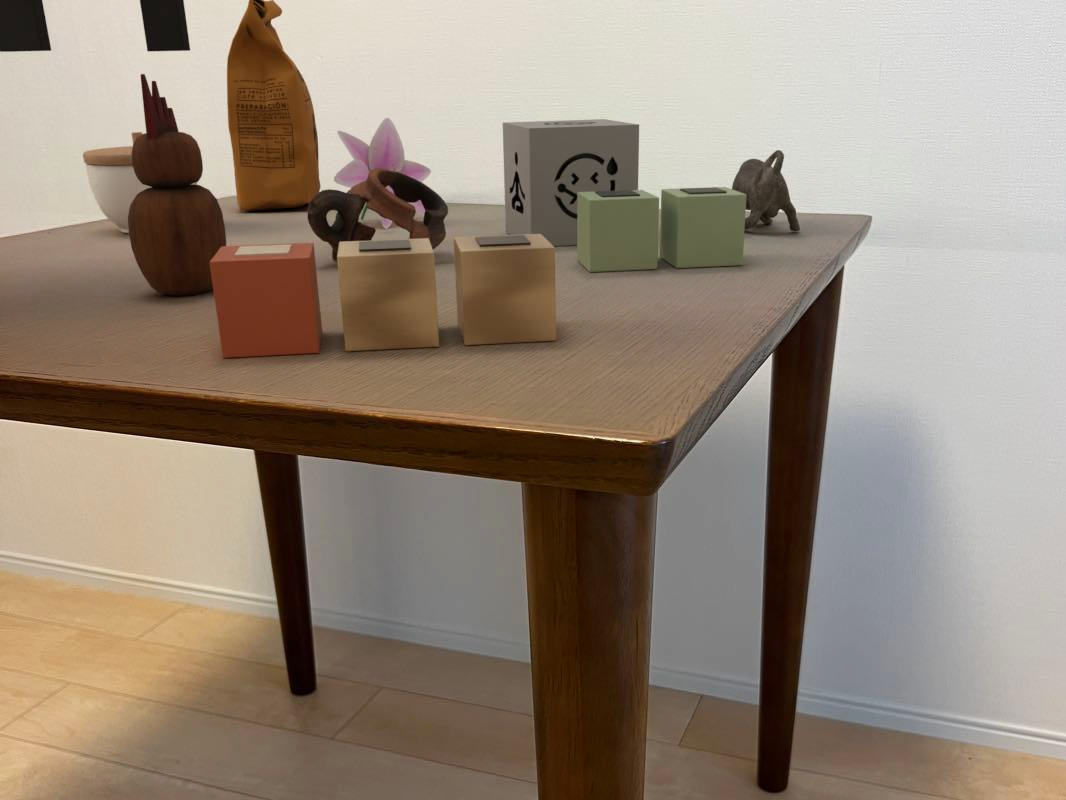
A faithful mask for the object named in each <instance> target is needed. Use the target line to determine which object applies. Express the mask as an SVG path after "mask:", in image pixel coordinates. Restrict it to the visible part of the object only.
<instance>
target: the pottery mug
mask: <svg viewBox="0 0 1066 800" xmlns="http://www.w3.org/2000/svg"><path fill="white" fill-rule="evenodd" d="M387 186H390V187H391V188H392V190H393V192H394V194H393V193H391V192H390V191H389V190H388V189H386V188H385V187H387ZM419 200H421V202H422V204H423V206H424V209H425V214H424V216H423V221H422V222H423V223H422V222H420V221H417V220H415V219H414V217H415V216H416V214H417V213H416V210H415V207H414V206H413V205H411V204H409V203H415V202H417V201H419ZM366 202H369V203H368V204H367V206H366V207H367V210H371V211H372V212H375V213H377V215H378V216H379V215H380V216H381V217H383V218H386V219H389V220H391V221H393V222H392V223H393V224H395V225H396V226H397V227H399V228H401V229H403V230H405V231H407V232H408V233H409V238H408V239H421V238H428V239H429V241H430V243H431V246H432V249H433V250H435V248H438V246H439V245H440V244H442V243H443V241H444V240H445V238H446V236H447V231H446V230H447V229H446V225H445V218H447V216H448V215H449V207H448V205H447V204H446V201H445V200H444V199H443V198H442V197H441V195H440V194H438V193H437V192H436V191H434V189H433V188H431V187H429V186H428V185H426V184H425V183H423V181H422V182H420V181H418V180H416V179H414V178H412V177H409V176H407V175H405V174H402V173H399V172H396V171H391V170H388V169H381V168H377V169H372V170H371V171H370V172H369V174H368V178H367V180H366V181H363V182H361V183H359V184H357V185H355V186H353V187H352V188H349V190H347V192H345V191H342V190H338V189H331V188H328V189H322V190H321V191H319V193H318V194H316V195H315V196H314V197H313V198H312V200H311V202H310V203H308V207H307V209H306V211H307V221H308V224H309V227H310V228H311V230H312V232H313V233H314V234H315V236H316V237H317V238H318V239H320V240H321V241H322V242H325V243H328V245H329V246H330V247H331V248H332V249H331V250H332V251H331V259H332V260H333V261H337V254H338V246H339V242H345V241H371V240H373V237H374V236H375V233H376V232H377V229H376V227H373V226H368V225H367V224H363V223H362V222H360V221H359V220H360V215H362V212H363V210H364V207H365V205H366ZM331 211H336V215H335V219H334V221H333V224H332V225H330V224H329V221H328V217H327V216H328V213H329V212H331Z"/></svg>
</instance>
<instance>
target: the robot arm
mask: <svg viewBox="0 0 1066 800" xmlns="http://www.w3.org/2000/svg"><path fill="white" fill-rule="evenodd" d="M139 3H140V5H139V6H140V10H141V18H142V25H143V31H144V38H145V44H146V51H147V52H185V51H187V52H190V51H191V46H190V45H191V44H190V38H189V30H188V23H187V22H188V21H187V15H186V10H185V1H184V0H139ZM49 35H50V34H49V30H48V25H47V19H46V14H45V8H44V3H43V0H0V53H3V52H4V53H12V52H14V53H15V52H50V51H52V46H51V41H50V36H49Z"/></svg>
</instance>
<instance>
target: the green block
mask: <svg viewBox="0 0 1066 800" xmlns="http://www.w3.org/2000/svg"><path fill="white" fill-rule="evenodd" d="M659 218H660V197H658V196H657V195H655V194H653V193H650V192H648V191H646V190H643V189H638V190H623V191H594V192H578V193H577V245H576V246H577V247H576V248H577V249H576V251H577V252H576V253H577V254H576V255H577V258H576V259H577V262H579V263H580V264H581V265H582V266H583V267H584V268H585V269H586V270H587V271H588V272H589V273H600V272H601V273H602V272H603V273H604V272H623V271H646V270H648V271H649V270H657V269H658V262H659V261H658V260H659V259H658V257H659V224H660V223H659V220H660V219H659Z"/></svg>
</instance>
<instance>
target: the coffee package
mask: <svg viewBox="0 0 1066 800" xmlns="http://www.w3.org/2000/svg"><path fill="white" fill-rule="evenodd" d="M247 4H248V5H247V6H246V10H245V11H244V14H243V16H242V17H241V21H240V22H239V23H238V24H239V25H238V27H237V30H236V32H235V34H234V36H233V38H232V40H231V44H230V48H229V51H228V55H227V59H226V62H227V64H226V104H227V106H226V107H227V125H228V133H229V139H230V144H231V150H232V160H233V169H234V170H233V171H234V183H235V193H236V200H237V206H238V209H239V210H240V211H247V212H253V211H271V210H286V209H296V208H299V207H301V206H302V207H303V206H304V205H307V204H308V205H309V203H310V202H311V200H312V198H313V197H314V196H315V195H316V194H318V193H319V192H321V191H320V190H321V186H322V185H321V181H320V168H319V166H320V165H319V137H318V130H317V124H316V115H315V110H314V106H313V105H314V103H313V101H312V97H311V94H310V91H309V88H308V85H307V83H306V81H305V78H304V77H303V75H302V73H301V71H300V70H299V68H298V67H297V65H296V64H295V62H294V61H293V59H291V57H290V56H289V55H288V54H287V53H286V52H285V51H284V47H283V44H282V42H281V40H280V37H279V35H278V32H277V29H276V28H275V27H274V26H273V25H272V20H274V19H276V18H279V17H281V16H282V14H283V9H282V8H281V7H280V5H278V4H277V2H275V1H274V0H248V2H247Z"/></svg>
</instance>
